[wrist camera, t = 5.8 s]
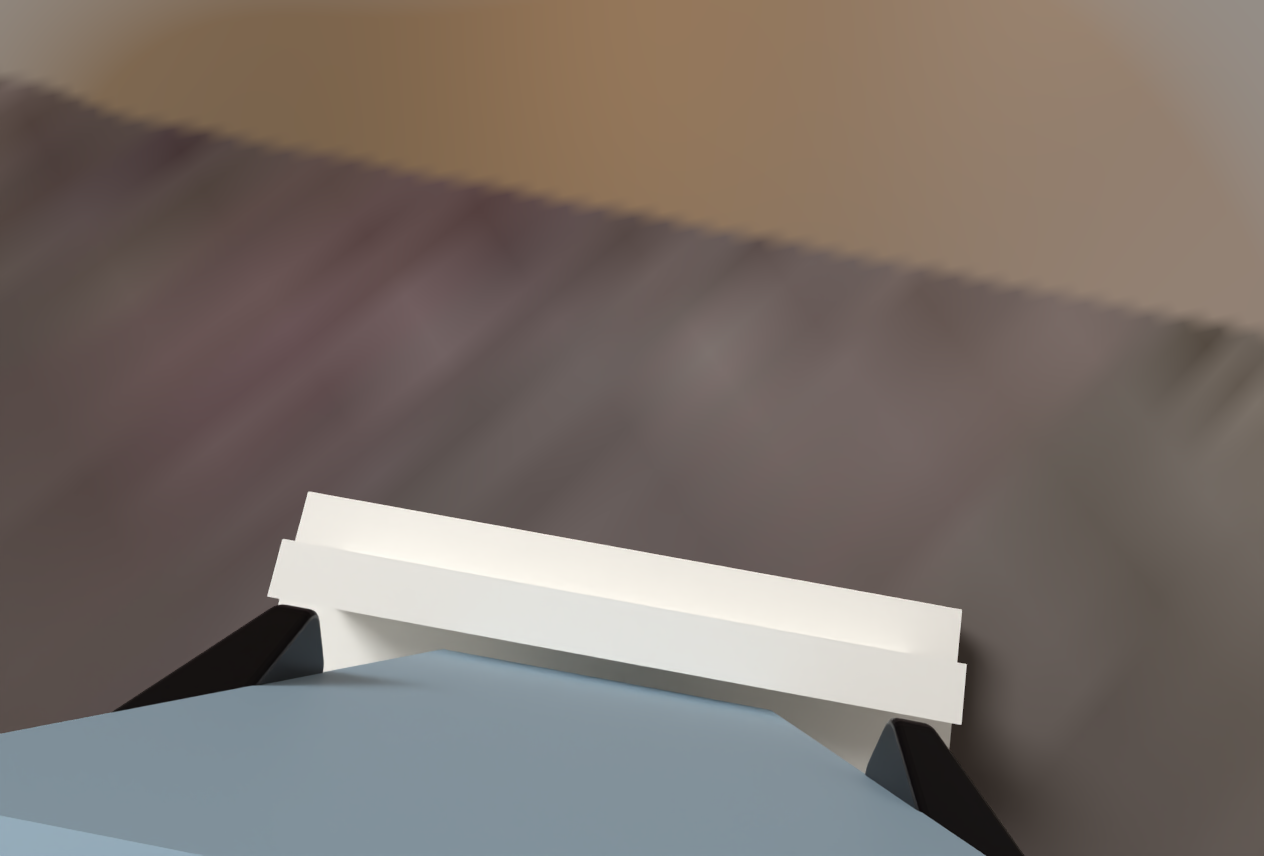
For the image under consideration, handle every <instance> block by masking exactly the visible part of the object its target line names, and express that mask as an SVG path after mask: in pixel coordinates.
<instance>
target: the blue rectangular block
mask: <svg viewBox="0 0 1264 856" xmlns="http://www.w3.org/2000/svg"><path fill="white" fill-rule="evenodd" d="M0 856H986V855H984V854H983V853H981V852H980V851H978V850H977V849H975V848H974V847H972V846H971V845H969V844H968V843H966V842H965V841H963V840H962V839H960V838H959V837H957V836H956V835H955V834H953V833H952V832H950V831H949V830H947V829H946V828H944V827H943V826H941V825H940V824H938V823H937V822H935V821H934V820H932V819H931V818H929V817H928V816H926V815H925V814H923V813H922V812H919V811H917V810H916V809H914V808H913V807H911V806H910V805H908V804H907V803H905V802H904V801H902V800H901V799H899V798H898V797H897V796H895V795H894V794H892V793H891V792H889V791H888V790H886V789H885V788H883V787H882V786H880V785H879V784H877V783H876V782H875V781H873V780H872V779H870V778H869V777H867V776H866V775H865V774H864V773H863V772H861V771H860V770H859V769H857V768H856V767H854V766H853V765H851V764H850V763H848V762H847V761H845V760H844V759H842V758H841V757H839V756H838V755H836V754H835V753H833V752H832V751H830V750H829V749H827V748H826V747H825V746H823V745H822V744H820V743H819V742H817V741H816V740H814V739H813V738H811V737H810V736H808V735H807V734H805V733H804V732H802V731H801V730H799V729H798V728H796V727H795V726H794V725H792V724H791V723H789V722H788V721H786V720H785V719H783V718H782V717H780V716H779V715H777V714H776V713H774V712H773V711H771V710H768V709H763V708H757V707H752V706H746V705H741V704H736V703H730V702H725V701H720V700H714V699H709V698H704V697H698V696H693V695H687V694H682V693H677V692H671V691H666V690H661V689H655V688H650V687H644V686H639V685H634V684H628V683H623V682H618V681H612V680H607V679H602V678H596V677H591V676H585V675H580V674H575V673H569V672H564V671H559V670H553V669H548V668H542V667H537V666H532V665H526V664H521V663H516V662H510V661H505V660H500V659H494V658H489V657H483V656H478V655H473V654H467V653H462V652H457V651H451V650H446V649H441V650H436V651H430V652H425V653H420V654H415V655H410V656H404V657H399V658H394V659H389V660H384V661H378V662H373V663H368V664H363V665H357V666H352V667H347V668H342V669H337V670H331V671H326V672H323V673H320V674H315V675H309V676H304V677H299V678H294V679H289V680H284V681H279V682H273V683H268V684H263V685H257V686H248V687H243V688H237V689H232V690H227V691H222V692H216V693H211V694H206V695H201V696H196V697H190V698H185V699H180V700H175V701H170V702H164V703H159V704H154V705H149V706H143V707H138V708H133V709H128V710H123V711H117V712H112V713H107V714H102V715H96V716H91V717H86V718H81V719H76V720H70V721H65V722H60V723H55V724H49V725H44V726H39V727H34V728H29V729H23V730H18V731H13V732H8V733H3V734H0Z"/></svg>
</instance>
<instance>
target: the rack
mask: <svg viewBox="0 0 1264 856" xmlns="http://www.w3.org/2000/svg"><path fill="white" fill-rule="evenodd" d="M267 596H269V597H274V598H279V599H280V600H279V604H278V605H281V604H285V605H291V606H297V607H302V608H308V609H312V610H314V611H315V612H316V613H317V614H318V616H319V620H320V629H321V638H322V648H323V657H324V669H323V672H326V671H331V670H337V669H342V668H347V667H352V666H357V665H363V664H368V663H373V662H378V661H384V660H389V659H394V658H399V657H404V656H410V655H415V654H420V653H425V652H430V651H436V650H441V649H446V650H451V651H457V652H462V653H467V654H473V655H478V656H483V657H489V658H494V659H500V660H505V661H510V662H516V663H521V664H526V665H532V666H537V667H542V668H548V669H553V670H559V671H564V672H569V673H575V674H580V675H585V676H591V677H596V678H602V679H607V680H612V681H618V682H623V683H628V684H634V685H639V686H644V687H650V688H655V689H661V690H666V691H671V692H677V693H682V694H687V695H693V696H698V697H704V698H709V699H714V700H720V701H725V702H730V703H736V704H741V705H746V706H752V707H757V708H763V709H768V710H771V711H773V712H774V713H776V714H777V715H779V716H780V717H782V718H783V719H785V720H786V721H788V722H789V723H791V724H792V725H794V726H795V727H796V728H798V729H799V730H801V731H802V732H804V733H805V734H807V735H808V736H810V737H811V738H813V739H814V740H816V741H817V742H819V743H820V744H822V745H823V746H825V747H826V748H827V749H829V750H830V751H832V752H833V753H835V754H836V755H838V756H839V757H841V758H842V759H844V760H845V761H847V762H848V763H850V764H851V765H853V766H854V767H856V768H857V769H859V770H860V771H861V772H863V773H864V774H865V772H866V768H867V765H868V762H869V760H870V758H871V755H872V753H873V751H874V749H875V747H876V744H877V742H878V740H879V738H880V736H881V733H882V731H883V729H884V727H885V725H886V723H887V722H888V721H889V720H890V719H892V718H902V719H907V720H913V721H918V722H923V723H926V724H929V725H930V726H931V727H933V728H934V729H935V730H936V732H937V733H938V734H939V736H940V737H941V739H942V740H943V741H944V743H945V744H946V746H947V747H948V749H949V747H950V736H951V725H952V723H953V724H958V725H961V724H962V713H963V701H964V690H965V679H966V667H967V664H963V663H958V662H957V659H958V648H959V637H960V626H961V615H962V610H961V609H955V608H950V607H944V606H939V605H933V604H928V603H922V602H916V601H911V600H905V599H900V598H894V597H889V596H883V595H878V594H872V593H867V592H861V591H856V590H850V589H845V588H839V587H834V586H828V585H822V584H817V583H811V582H806V581H800V580H795V579H789V578H784V577H778V576H773V575H767V574H762V573H756V572H751V571H745V570H740V569H734V568H728V567H723V566H717V565H712V564H706V563H701V562H695V561H690V560H684V559H679V558H673V557H668V556H662V555H657V554H651V553H645V552H640V551H634V550H629V549H623V548H618V547H612V546H607V545H601V544H596V543H590V542H585V541H579V540H574V539H568V538H563V537H557V536H551V535H546V534H540V533H535V532H529V531H524V530H518V529H513V528H507V527H502V526H496V525H491V524H485V523H480V522H474V521H469V520H463V519H457V518H452V517H446V516H441V515H435V514H430V513H424V512H419V511H413V510H408V509H402V508H397V507H391V506H386V505H380V504H374V503H369V502H363V501H358V500H352V499H347V498H341V497H336V496H330V495H325V494H319V493H314V492H308V495H307V498H306V502H305V506H304V510H303V513H302V517H301V521H300V525H299V528H298V532H297V536H296V540H295V541H291V540H286V539H283V540H282V543H281V547H280V551H279V554H278V558H277V562H276V566H275V569H274V573H273V577H272V581H271V584H270V588H269V592H268V595H267Z"/></svg>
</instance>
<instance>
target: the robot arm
mask: <svg viewBox="0 0 1264 856" xmlns="http://www.w3.org/2000/svg"><path fill="white" fill-rule="evenodd" d="M323 669H324V657H323V648H322V638H321V629H320V620H319V616H318V614H317V613H316V612H315V611H314V610H312V609H308V608H302V607H297V606H291V605H285V604H281V605H277V606H274V607H272V608H270V609H269V610H267V611H266V612H264V613H263V614H261V615H259V616H258V617H256V618H255V619H253V620H252V621H250V622H249V623H247V624H246V625H244V626H243V627H241V628H240V629H238V630H237V631H235V632H233V633H232V634H230V635H229V636H227V637H226V638H224V639H223V640H221V641H220V642H218V643H217V644H215V645H214V646H212V647H211V648H209V649H207V650H206V651H204V652H203V653H201V654H200V655H198V656H197V657H195V658H194V659H192V660H191V661H189V662H188V663H186V664H185V665H183V666H182V667H180V668H178V669H177V670H175V671H174V672H172V673H171V674H169V675H168V676H166V677H165V678H163V679H162V680H160V681H159V682H157V683H156V684H154V685H152V686H151V687H149V688H148V689H146V690H145V691H143V692H142V693H140V694H139V695H137V696H136V697H134V698H133V699H131V700H130V701H128V702H127V703H125V704H123V705H122V706H120V707H119V708H117V709H116V710H114V711H113V712H117V711H123V710H128V709H133V708H138V707H143V706H149V705H154V704H159V703H164V702H170V701H175V700H180V699H185V698H190V697H196V696H201V695H206V694H211V693H216V692H222V691H227V690H232V689H237V688H243V687H248V686H257V685H263V684H268V683H273V682H279V681H284V680H289V679H294V678H299V677H304V676H309V675H315V674H320V673H323ZM111 713H112V712H111ZM865 775H866V776H867V777H869V778H870V779H872V780H873V781H875V782H876V783H877V784H879V785H880V786H882V787H883V788H885V789H886V790H888V791H889V792H891V793H892V794H894V795H895V796H897V797H898V798H899V799H901V800H902V801H904V802H905V803H907V804H908V805H910V806H911V807H913V808H914V809H916V810H917V811H919V812H922V813H923V814H925V815H926V816H928V817H929V818H931V819H932V820H934V821H935V822H937V823H938V824H940V825H941V826H943V827H944V828H946V829H947V830H949V831H950V832H952V833H953V834H955V835H956V836H957V837H959V838H960V839H962V840H963V841H965V842H966V843H968V844H969V845H971V846H972V847H974V848H975V849H977V850H978V851H980V852H981V853H983V854H984V855H986V856H1024V854H1023V853H1022V852H1021V850H1020V849H1019V847H1018V846H1017V845H1016V843H1015V842H1014V840H1013V839H1012V838H1011V836H1010V835H1009V833H1008V832H1007V830H1006V829H1005V828H1004V826H1003V825H1002V823H1001V822H1000V821H999V819H998V818H997V816H996V815H995V814H994V812H993V811H992V809H991V808H990V806H989V805H988V804H987V802H986V801H985V799H984V798H983V797H982V795H981V794H980V792H979V791H978V789H977V788H976V787H975V785H974V784H973V782H972V781H971V780H970V778H969V777H968V775H967V774H966V773H965V771H964V770H963V768H962V767H961V765H960V764H959V763H958V761H957V760H956V758H955V757H954V756H953V754H952V753H951V751H950V750H949V749H948V747H947V746H946V744H945V743H944V741H943V740H942V739H941V737H940V736H939V734H938V733H937V732H936V730H935V729H934V728H933V727H931V726H930V725H929V724H926V723H923V722H918V721H913V720H907V719H902V718H892V719H890V720H889V721H888V722H887V723H886V725H885V727H884V729H883V731H882V733H881V736H880V738H879V740H878V742H877V744H876V747H875V749H874V751H873V753H872V755H871V758H870V760H869V762H868V765H867V768H866V772H865Z"/></svg>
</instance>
